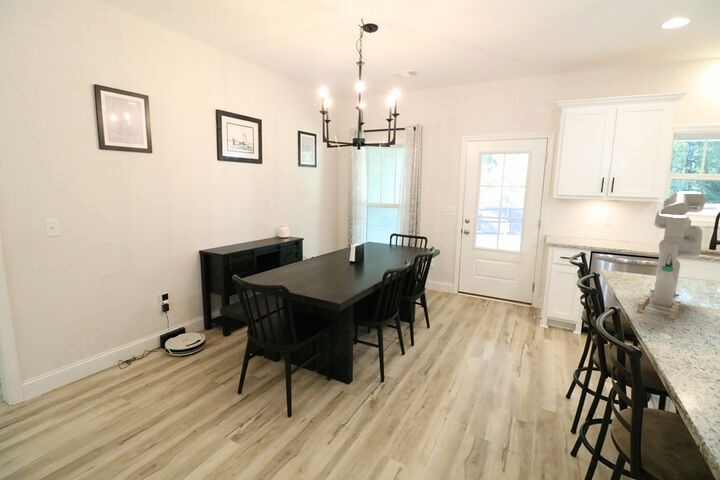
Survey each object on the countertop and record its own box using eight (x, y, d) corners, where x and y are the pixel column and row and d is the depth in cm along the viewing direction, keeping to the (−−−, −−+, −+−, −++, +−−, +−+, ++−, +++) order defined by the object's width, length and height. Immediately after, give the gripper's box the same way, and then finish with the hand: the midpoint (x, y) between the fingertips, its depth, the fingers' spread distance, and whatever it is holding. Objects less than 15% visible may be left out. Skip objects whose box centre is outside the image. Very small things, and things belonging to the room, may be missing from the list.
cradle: (643, 302, 184) (645, 294, 184) (679, 309, 174) (680, 301, 174) (636, 310, 171) (637, 303, 170) (674, 319, 161) (676, 310, 160)
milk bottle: (675, 306, 177) (681, 269, 172) (658, 306, 179) (663, 269, 174) (666, 299, 185) (671, 264, 180) (649, 299, 186) (654, 264, 181)
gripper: (665, 238, 186) (660, 271, 189) (661, 240, 176) (656, 275, 179) (684, 240, 181) (678, 274, 183) (681, 242, 171) (675, 278, 173)
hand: (667, 274), depth 181 cm, fingers closed
